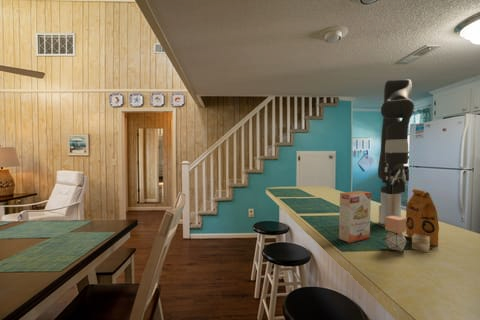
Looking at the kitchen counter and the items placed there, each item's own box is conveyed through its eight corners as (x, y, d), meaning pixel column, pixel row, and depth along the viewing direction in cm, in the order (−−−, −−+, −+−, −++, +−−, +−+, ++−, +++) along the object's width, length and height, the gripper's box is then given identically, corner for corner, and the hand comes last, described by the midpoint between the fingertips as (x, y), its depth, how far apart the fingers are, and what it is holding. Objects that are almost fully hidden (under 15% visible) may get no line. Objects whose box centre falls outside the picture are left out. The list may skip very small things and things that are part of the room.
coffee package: (414, 244, 99) (415, 192, 99) (402, 235, 111) (403, 188, 111) (443, 247, 97) (444, 193, 96) (427, 237, 108) (428, 189, 108)
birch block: (411, 248, 95) (412, 236, 95) (414, 245, 99) (414, 233, 99) (427, 252, 92) (427, 239, 92) (429, 248, 95) (429, 236, 95)
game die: (389, 258, 95) (373, 234, 99) (407, 250, 95) (391, 226, 100) (399, 256, 87) (382, 230, 92) (420, 247, 87) (401, 221, 92)
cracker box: (350, 243, 101) (350, 194, 100) (338, 239, 106) (338, 192, 105) (371, 238, 107) (371, 192, 106) (359, 234, 112) (359, 190, 112)
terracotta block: (385, 229, 94) (385, 217, 94) (392, 227, 97) (392, 215, 97) (398, 233, 90) (399, 220, 90) (405, 231, 92) (406, 218, 92)
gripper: (396, 151, 99) (395, 190, 100) (376, 151, 92) (375, 193, 93) (416, 151, 93) (415, 192, 93) (396, 151, 86) (395, 196, 86)
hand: (395, 193), depth 93 cm, fingers open, 8 cm apart
